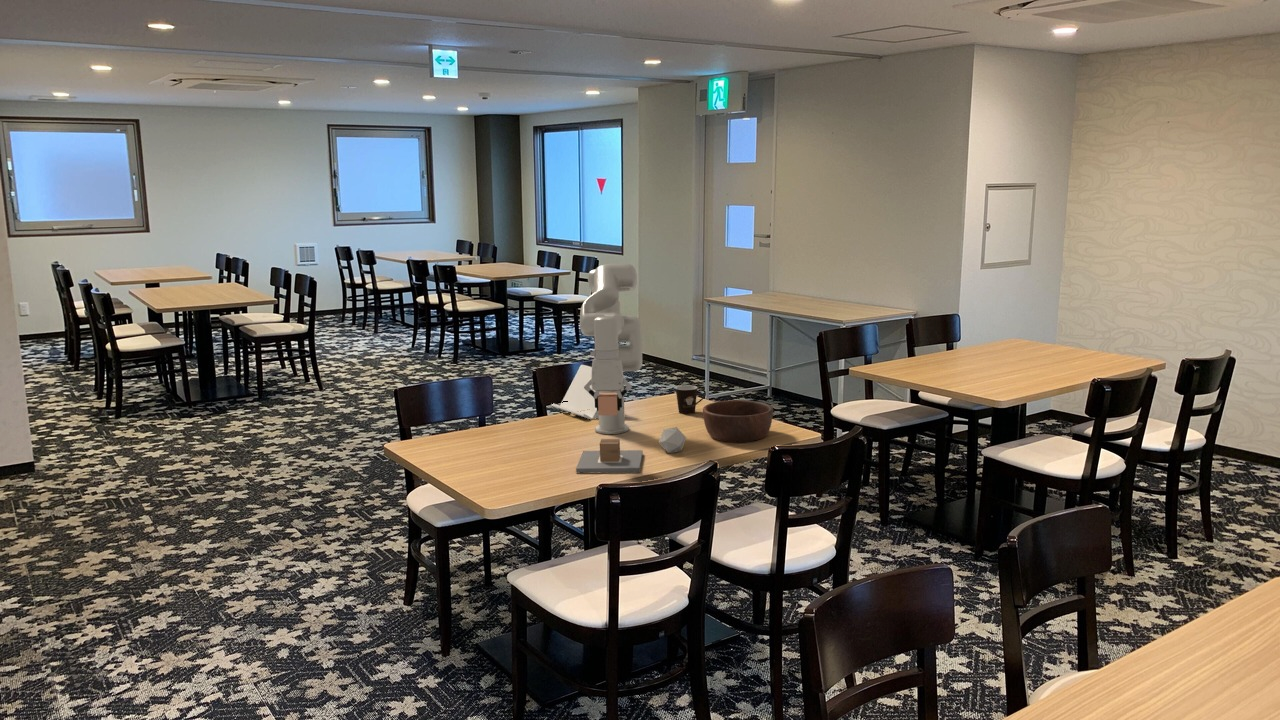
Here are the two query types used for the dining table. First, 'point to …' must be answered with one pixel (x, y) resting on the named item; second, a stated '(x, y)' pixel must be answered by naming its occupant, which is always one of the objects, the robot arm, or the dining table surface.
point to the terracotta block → (607, 404)
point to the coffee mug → (687, 398)
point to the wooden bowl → (737, 420)
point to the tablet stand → (580, 396)
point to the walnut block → (609, 450)
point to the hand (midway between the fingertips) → (608, 409)
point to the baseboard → (626, 464)
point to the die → (672, 440)
